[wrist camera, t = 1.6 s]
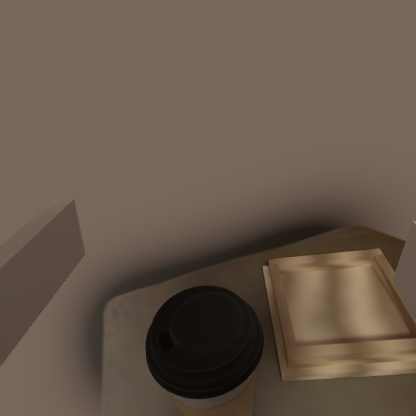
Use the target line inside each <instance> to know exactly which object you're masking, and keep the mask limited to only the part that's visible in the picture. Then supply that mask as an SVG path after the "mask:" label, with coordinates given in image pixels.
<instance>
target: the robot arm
mask: <svg viewBox="0 0 416 416" xmlns="http://www.w3.org/2000/svg"><path fill="white" fill-rule="evenodd" d="M84 255H85V250H84V245H83V240H82V236H81V231H80V226H79V221H78V217H77V211H76V207H75V202H74V199H63V198H56V199H55V200H54V201H52V202H51V203H50V204H49V205H48V206H47V207H45V208H44V209H43V210H42V211H41V212H39V213H38V214H37V215H36V216H35V217H34V218H32V219H31V220H30V221H29V222H28V223H27V224H26V225H24V226H23V227H22V228H21V229H20V230H18V231H17V232H16V233H15V234H14V235H13V236H12V237H10V238H9V239H8V240H7V241H6V242H4V243H3V244H2V245H1V246H0V366H1V365H2V364H3V362H4V361H5V360H6V358H7V357H8V356H9V354H10V353H11V352H12V350H13V349H14V348H15V346H16V345H17V344H18V342H19V341H20V340H21V339H22V337H23V336H24V334H25V333H26V332H27V331H28V329H29V328H30V327H31V325H32V324H33V323H34V321H35V320H36V319H37V317H38V316H39V315H40V313H41V312H42V310H43V309H44V308H45V307H46V305H47V304H48V303H49V301H50V300H51V299H52V297H53V296H54V295H55V293H56V292H57V291H58V290H59V288H60V287H61V286H62V284H63V283H64V281H65V280H66V279H67V277H68V276H69V275H70V273H71V272H72V271H73V270H74V268H75V267H76V266H77V264H78V263H79V261H80V260H81V259H82V258H83V256H84ZM393 281H394V282H395V284H396V286H397V288H398V290H399V292H400V294H401V295H402V297H403V299H404V301H405V303H406V305H407V307H408V309H409V310H410V312H411V314H412V316H413V318H414V320H415V322H416V221H413V222H412V225H411V228H410V231H409V234H408V237H407V240H406V243H405V246H404V249H403V252H402V254H401V257H400V260H399V263H398V266H397V269H396V272H395V275H394V278H393Z"/></svg>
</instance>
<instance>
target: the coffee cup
mask: <svg viewBox="0 0 416 416" xmlns="http://www.w3.org/2000/svg"><path fill="white" fill-rule="evenodd" d="M263 345H264V338H263V331H262V327H261V325H260V322H259V320H258V317H257V315H256V313H255V312H254V310H253V309H252V308H251V307H250V306H249V305H248V304H247V303H246V302H245V301H244V300H242V299H241V298H240V297H239V296H238V295H236V294H235V293H233V292H231V291H229V290H227V289H224V288H221V287H216V286H198V287H193V288H189V289H186V290H184V291H181V292H179V293H177V294H176V295H174V296H173V297H171V298H170V299H169V300H167V301H166V302H165V303H164V304H163V305H162V306H161V308H160V309H159V310H158V312H157V313H156V315H155V317H154V319H153V322H152V324H151V326H150V328H149V330H148V333H147V337H146V359H147V364H148V367H149V370H150V372H151V374H152V376H153V377H154V379H155V380H156V381H157V382H158V383H159V384H160V385H161V386H162V387H163V388H164V389H166V390H167V391H168V393H169V395H170V396H171V398H172V400H173V401H174V403H175V405H176V406H177V408H178V410H179V411H180V413H181V415H182V416H252V408H253V405H254V399H255V383H256V367H257V365H258V363H259V361H260V358H261V355H262V351H263Z"/></svg>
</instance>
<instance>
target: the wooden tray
mask: <svg viewBox="0 0 416 416" xmlns="http://www.w3.org/2000/svg"><path fill="white" fill-rule="evenodd" d="M268 264H269V266H263V274H264V279H265V285H266V291H267V297H268V303H269V308H270V314H271V320H272V326H273V331H274V337H275V343H276V349H277V354H278V360H279V366H280V372H281V378H282V382H283V381H299V380H315V379H331V378H347V377H363V376H378V375H394V374H410V373H416V322H415V320H414V318H413V316H412V314H411V312H410V310H409V309H408V307H407V305H406V303H405V301H404V299H403V297H402V295H401V294H400V292H399V290H398V288H397V286H396V284H395V282H394V281H393V278H394V275H395V272H394V271H393V269H392V268H391V266H390V264H389V263H388V261H387V260H386V258H385V257H384V255H383V253H382V252H381V250H380V249H371V250H360V251H350V252H339V253H329V254H318V255H308V256H297V257H287V258H276V259H268Z"/></svg>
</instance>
